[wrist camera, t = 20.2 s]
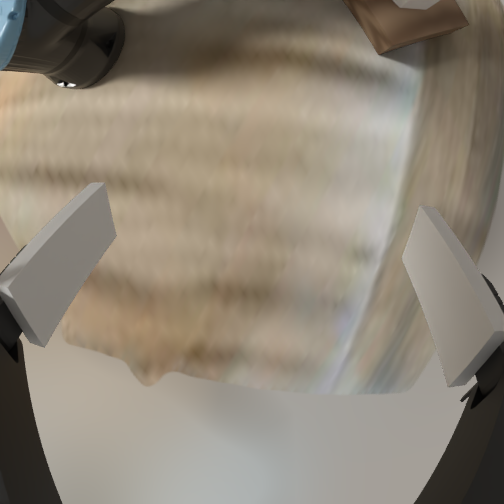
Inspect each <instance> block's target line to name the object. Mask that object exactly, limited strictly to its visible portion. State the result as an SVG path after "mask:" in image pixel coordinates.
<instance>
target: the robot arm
mask: <svg viewBox="0 0 504 504" xmlns="http://www.w3.org/2000/svg"><path fill="white" fill-rule="evenodd" d="M113 1H114V0H0V70H1V71H18V72H30V73H40V74H43V75H45V76H46V77H47V78H48V79H50V80H51V81H52V82H53V83H55V84H56V85H58V86H60V87H63V88H70V89H81V88H85V87H88V86H90V85H92V84H94V83H96V82H97V81H99V80H100V79H101V78H102V77H103V76H105V75H106V74H107V73H108V71H109V70H110V69H111V68H112V67H113V65H114V64H115V62H116V61H117V59H118V57H119V55H120V53H121V50H122V47H123V43H124V37H125V30H124V25H123V22H122V20H121V18H120V17H119V16H118V15H117V14H116V13H115V12H113V11H112V10H110V9H109V8H107V7H105V6H107V5H108V4H110V3H111V2H113ZM116 236H117V235H116V231H115V227H114V223H113V218H112V214H111V209H110V205H109V200H108V195H107V190H106V185H105V183H90V184H89V185H88V186H87V187H86V188H85V189H83V190H82V191H81V192H80V193H79V194H78V195H77V196H76V197H75V198H73V199H72V200H71V201H70V202H69V203H68V204H67V205H66V206H65V207H64V208H63V209H62V210H61V211H60V212H59V213H58V214H57V215H55V216H54V217H53V218H52V219H51V220H50V221H49V222H48V223H47V224H46V225H45V226H44V227H43V228H42V230H41V231H40V232H39V233H38V234H37V235H36V236H35V237H34V238H33V239H32V240H31V241H30V242H29V243H28V244H27V245H25V246H24V247H23V248H22V249H21V250H20V252H19V253H18V254H17V255H16V257H15V258H13V259H12V261H11V262H10V264H8V265H7V266H6V268H5V269H4V270H3V271H2V272H1V274H0V504H62V501H61V499H60V496H59V494H58V491H57V489H56V486H55V484H54V481H53V478H52V475H51V472H50V470H49V467H48V464H47V461H46V458H45V454H44V451H43V448H42V444H41V441H40V437H39V433H38V429H37V426H36V422H35V417H34V413H33V409H32V403H31V398H30V393H29V388H28V382H27V375H26V368H25V361H24V353H23V345H22V342H21V340H20V339H19V336H20V335H21V333H22V332H23V333H24V335H25V336H26V337H27V339H28V340H29V342H30V343H33V344H35V345H38V346H41V347H45V346H46V345H47V343H48V341H49V339H50V337H51V336H52V334H53V332H54V330H55V328H56V327H57V325H58V324H59V322H60V320H61V319H62V317H63V315H64V314H65V312H66V310H67V309H68V307H69V305H70V304H71V302H72V301H73V299H74V298H75V296H76V294H77V293H78V291H79V290H80V288H81V287H82V285H83V284H84V282H85V281H86V279H87V278H88V276H89V275H90V273H91V272H92V270H93V269H94V267H95V266H96V264H97V263H98V261H99V260H100V259H101V257H102V256H103V254H104V253H105V251H106V250H107V249H108V247H109V246H110V245H111V243H112V242H113V240H114V239H115V238H116ZM402 261H403V263H404V265H405V267H406V270H407V272H408V274H409V277H410V279H411V282H412V284H413V286H414V289H415V291H416V294H417V296H418V299H419V302H420V304H421V307H422V309H423V312H424V315H425V317H426V320H427V323H428V326H429V329H430V331H431V334H432V337H433V340H434V343H435V346H436V349H437V352H438V355H439V358H440V362H441V365H442V369H443V372H444V375H445V379H446V382H447V386H448V387H454V386H461V385H465V384H466V383H467V382H468V381H469V380H470V379H471V378H472V377H473V376H474V375H476V378H477V381H478V382H477V383H476V384H475V385H474V386H473V387H472V388H471V389H470V390H469V391H468V392H467V393H466V394H465V395H464V396H463V397H462V399H461V400H460V401H461V402H463V401H464V400H465V399H466V398H467V397H469V399H468V401H467V403H466V406H465V409H464V411H463V413H462V416H461V418H460V420H459V423H458V425H457V427H456V429H455V431H454V434H453V436H452V438H451V440H450V442H449V444H448V446H447V448H446V450H445V452H444V454H443V456H442V458H441V459H440V461H439V463H438V465H437V467H436V469H435V470H434V472H433V474H432V476H431V477H430V479H429V481H428V482H427V484H426V486H425V487H424V489H423V491H422V492H421V494H420V495H419V497H418V498H417V500H416V501H415V503H414V504H504V305H503V302H502V300H501V299H500V297H499V296H498V293H497V291H496V290H495V288H494V286H493V285H492V283H491V282H490V281H489V280H488V279H487V278H486V277H485V276H484V275H483V274H481V273H480V272H479V270H478V268H477V267H476V265H475V264H474V262H473V261H472V259H471V257H470V256H469V254H468V253H467V251H466V250H465V248H464V247H463V245H462V244H461V243H460V241H459V240H458V238H457V237H456V235H455V234H454V233H453V231H452V230H451V228H450V227H449V226H448V224H447V223H446V222H445V220H444V219H443V218H442V216H441V215H440V214H439V212H438V211H437V210H436V208H435V207H430V206H424V205H420V206H419V209H418V212H417V215H416V218H415V221H414V224H413V227H412V230H411V233H410V236H409V239H408V242H407V245H406V248H405V250H404V253H403V256H402Z"/></svg>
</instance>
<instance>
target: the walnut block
mask: <svg viewBox="0 0 504 504" xmlns="http://www.w3.org/2000/svg"><path fill="white" fill-rule="evenodd" d="M343 1H344V3H345V4H346V5H347V7H348V8H349V10H350V11H351V12H352V14H353V15H354V17H355V18H356V20H357V21H358V23H359V24H360V26H361V27H362V29H363V30H364V32H365V34H366V35H367V37H368V38H369V40H370V42H371V43H372V45H373V46H374V48H375V50H376V52H377V53H378V55H380V54H383V53H386V52H389V51H392V50H395V49H398V48H401V47H404V46H407V45H410V44H413V43H416V42H420V41H423V40H426V39H430V38H434V37H437V36H441V35H445V34H449V33H452V32H454V31H456V30H458V29H461V28H463V27H465V26H468V25H469V23H468V22H467V20H466V18H465V16H464V15H463V13H462V11H461V10H460V8H459V6H458V5H457V3H456V2H455V0H440V1H439V2H437V3H436V4H434V5H433V6H431V7H430V8H428V9H427V10H422V9H409V8H399V7H398V6H397V5H396V3H395V2H394V1H393V0H343Z"/></svg>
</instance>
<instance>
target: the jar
mask: <svg viewBox="0 0 504 504" xmlns="http://www.w3.org/2000/svg"><path fill="white" fill-rule="evenodd" d="M393 1H394V2H395V3H396V5H397V6H398V7H399V8H409V9H422V10H427V9H428V8H430V7H431V6H433V5H434V4H436V3H437V2H439V1H440V0H393Z"/></svg>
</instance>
